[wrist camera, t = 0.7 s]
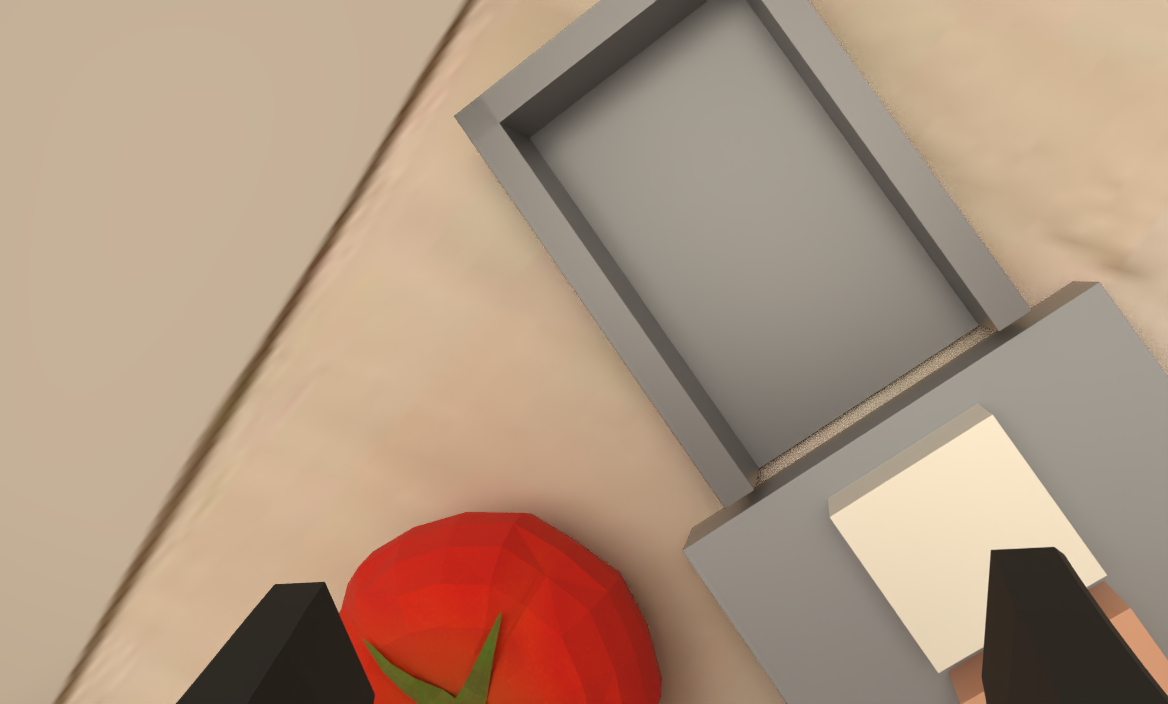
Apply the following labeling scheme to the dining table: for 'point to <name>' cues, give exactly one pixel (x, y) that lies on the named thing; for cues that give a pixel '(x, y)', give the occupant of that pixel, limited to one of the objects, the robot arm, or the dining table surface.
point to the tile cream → (951, 529)
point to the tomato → (497, 618)
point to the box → (736, 218)
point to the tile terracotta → (1121, 617)
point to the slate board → (979, 375)
